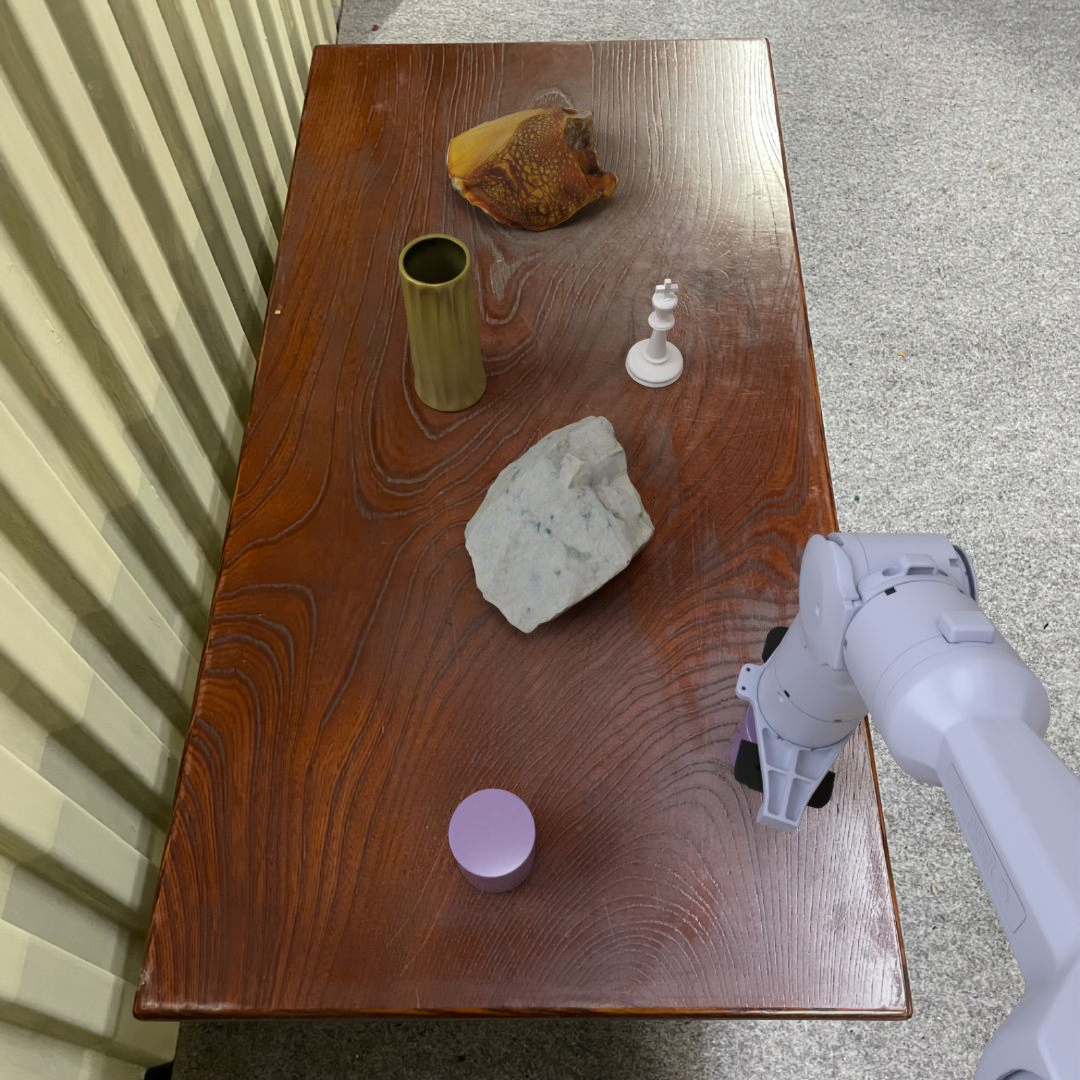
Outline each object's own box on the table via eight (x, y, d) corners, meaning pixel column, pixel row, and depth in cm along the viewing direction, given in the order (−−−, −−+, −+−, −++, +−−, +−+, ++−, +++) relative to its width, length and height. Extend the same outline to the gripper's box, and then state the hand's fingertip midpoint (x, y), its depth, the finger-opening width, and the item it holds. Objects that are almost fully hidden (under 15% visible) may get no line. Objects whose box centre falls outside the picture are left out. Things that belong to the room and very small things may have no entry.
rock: (416, 515, 74) (403, 458, 67) (581, 423, 78) (586, 361, 71) (523, 667, 67) (521, 622, 60) (696, 558, 72) (713, 505, 65)
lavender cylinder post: (515, 907, 60) (513, 892, 54) (442, 872, 61) (433, 854, 55) (548, 830, 62) (549, 809, 57) (477, 798, 63) (472, 774, 58)
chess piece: (621, 345, 82) (631, 260, 73) (677, 340, 82) (693, 255, 73) (630, 390, 79) (641, 307, 71) (687, 385, 80) (706, 302, 71)
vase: (475, 348, 82) (463, 220, 69) (496, 402, 79) (487, 279, 66) (407, 366, 81) (382, 239, 68) (425, 421, 78) (403, 299, 65)
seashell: (428, 193, 85) (450, 65, 90) (447, 246, 92) (467, 125, 97) (612, 191, 82) (624, 59, 87) (617, 246, 89) (629, 121, 94)
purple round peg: (793, 804, 61) (817, 780, 56) (718, 772, 62) (734, 746, 57) (815, 733, 64) (840, 704, 58) (742, 703, 65) (760, 672, 59)
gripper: (783, 535, 54) (738, 630, 66) (722, 774, 47) (685, 831, 59) (907, 572, 53) (839, 661, 64) (863, 822, 46) (796, 870, 58)
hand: (772, 745), depth 62 cm, fingers closed on purple round peg, 5 cm apart
